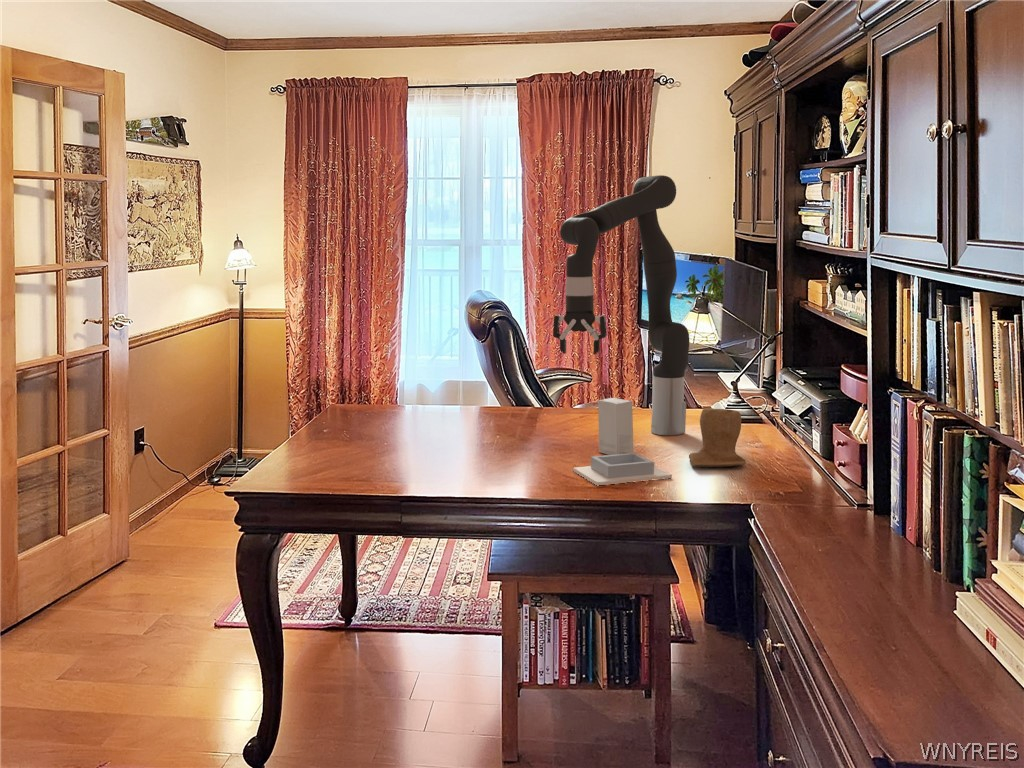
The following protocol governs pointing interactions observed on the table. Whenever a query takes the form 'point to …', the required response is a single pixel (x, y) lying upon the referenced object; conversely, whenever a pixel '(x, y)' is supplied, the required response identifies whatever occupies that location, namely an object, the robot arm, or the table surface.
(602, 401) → the skincare box
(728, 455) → the tan flared vase
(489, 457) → the table surface
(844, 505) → the table surface
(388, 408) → the table surface
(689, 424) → the table surface
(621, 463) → the socket board
